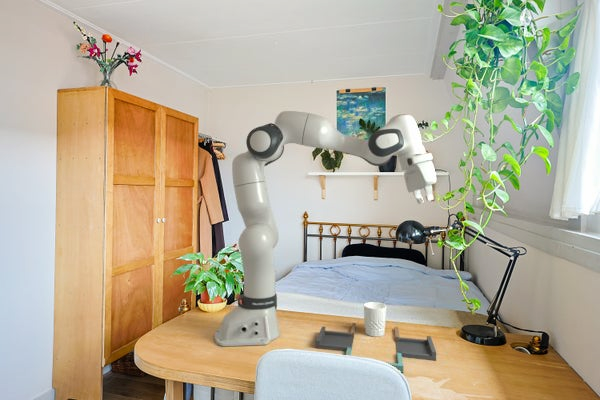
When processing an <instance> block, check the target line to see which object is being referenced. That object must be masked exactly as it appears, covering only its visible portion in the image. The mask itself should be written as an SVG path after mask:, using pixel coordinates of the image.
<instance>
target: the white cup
mask: <svg viewBox="0 0 600 400" xmlns="http://www.w3.org/2000/svg"><path fill="white" fill-rule="evenodd" d="M387 308H388V307H387V304H385V303H382V302H374V301H370V302H365V303H364V304H363V317H364V321H363V322H364V332H365V333H364V334H365V335H367V336H370V337H375V338H376V337H377V338H378V337H379V338H380V337H383V336H384V335H385V334H386V333H385V329H386V322H387V321H386V320H387Z"/></svg>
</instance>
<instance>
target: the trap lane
mask: <svg viewBox="0 0 600 400" xmlns="http://www.w3.org/2000/svg"><path fill="white" fill-rule="evenodd" d="M356 327H357V324H356V323H355V322H352V325H351V330H350V332H347V331H346V332H345V331H333V330H326V326H321V328H320V331H319V333H318V335H317V337H316V339H315V349H320V350H329V351H330V350H331V351H339V352H345V356H346V355H350V356H351V354H352V349H353V345H354V344H353V343H354V339H355V333H356ZM399 331H400V330H399V327H398V326H394V337H395V345H396V357H397V358H396V359H397V363H396V362H386V363H388V364H390V365H392V366H394V367H396V368H397V369H398V370H400V371H401V372H402V373H401V374H404V363H403V358H405V359H406V358H408V359H416V360H417V359H418V360H429V361H436V360H437V351H436V347H435V345H434V342H433V339H432V337H431V336H430V335H427V336H426V339H422V338H414V337H413V338H410V337H403V336H402V337H400V333H399Z"/></svg>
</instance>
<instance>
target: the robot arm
mask: <svg viewBox="0 0 600 400" xmlns="http://www.w3.org/2000/svg"><path fill="white" fill-rule="evenodd" d="M245 142H246V143H245V144H246V147H247V151H245V152H243V153H240V154H237V155H236V156H235V157H234V158H233V159H232V164H231V168H232V169H231V173H232V174H231V175H232V183H233V188H234V189H233V190H234V193H235V199H236V206H237V209H238V212H239V214H240V215H241V218H242V220H243V223H244V226H245V229H244V230H242V232H241V233H240V236H239V238H238V248H239V250H240V257H241V264H242V271H243V294H240V293H236V294H235V296H234V297H235V300H236V301H237V306H235V307H234V308H233V309H232V310H231V311H229V312H228V313H227V314H226V315H224V316H223V319H222V320H221V326H220V327H219V328H218V329H216V330H215V331H214V342H215V343H216V344H217V345H219V346H221V347H236V346H237V347H238V346H239V347H240V346H241V347H242V346H263V345H264V346H265V345H268V344H269V343H270V342H272V341H273V340H275V339H277V338H278V337H280V335H281V332H280V328H279V324H278V317H277V309H278V296H277V295H278V294H277V293H276V283H277V282H276V279H277V278H276V275H277V274H276V267H275V259H274V248H275V247H276V246H277V245H278V242H279V230H278V228H277V224H276V221H275V217H274V213H273V210H272V207H271V205H270V204H271V203H270V200H269V199H270V198H269V192H268V188H267V183H266V179H265V173H264V168H265V167H267V166H268V165H270V164H272V163H274V162H276V161H278V159H280V158H281V157H282V155H283V154H284V150H285V145H287V144H295V145H296V144H297V145H300V146H304V147H305V146H306V147H310V148H315V149H316V148H317V149H324V150H331V151H336V152H339V153H343V154H347V155H351V156H355V157H359V158H360V159H362V160H364V161H366V163H368V164H369V165H372V166H375V167H382V166H384V165H386V164H388V163H389V162H390V160H391V159H392V156H395V155H396V156H397V157H398V160H399V164H400V168H401V171H405V172H404V173H403V176H404V181H405V186H406V190H407V192H408V193H409V194H410V193H412V194H413V196H414V198H415V199H416V201H417V204H424V203H425V201H424V198H423V196H422V194H421V190H422V189H423V190H424V191H425V200H426V201H428V202H430V201H433V200H434V195H433V186H432V185H434V184H436V183H437V175H436V174H437V173H436V170H435V166H434V163H433V158H434V157H433V154H432V153H431V152H428V151H426V148H425V146H424V145H423V142H422V135H421V133H420V128H419V127H418V124H417V122H416V120H415V118H414V117H413V116H412V115H410V114H397V115H395V116H394V115H393V117H391V118H390V119H389V121H388V122H386V124H385V125H383V126H382V127H380V128H379V129H378V130H376V131H374V132H373V133H372V134H371V135H370V136H369V138H368V139H362V138H358V137H354V136H351V135H348V134H344V133H342V132H340V131H339V130H338V129H337V128H336V127H335V126H334V124H333V123H332V122H331V121H330V119H328V118H326V117H323V116H321V115H318V114H315V113H309V112H305V111H295V110H283V111H281V112H280V113H279V114H278V115H277V116H276V118H275V120H274V123H271V122H270V123H266V124H264V125H261V126H257V127H254V128H253V129H251V130H250V131H249V133H248V135H247V136H246V141H245Z"/></svg>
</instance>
